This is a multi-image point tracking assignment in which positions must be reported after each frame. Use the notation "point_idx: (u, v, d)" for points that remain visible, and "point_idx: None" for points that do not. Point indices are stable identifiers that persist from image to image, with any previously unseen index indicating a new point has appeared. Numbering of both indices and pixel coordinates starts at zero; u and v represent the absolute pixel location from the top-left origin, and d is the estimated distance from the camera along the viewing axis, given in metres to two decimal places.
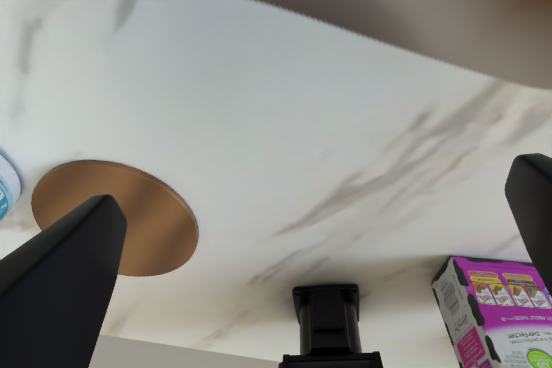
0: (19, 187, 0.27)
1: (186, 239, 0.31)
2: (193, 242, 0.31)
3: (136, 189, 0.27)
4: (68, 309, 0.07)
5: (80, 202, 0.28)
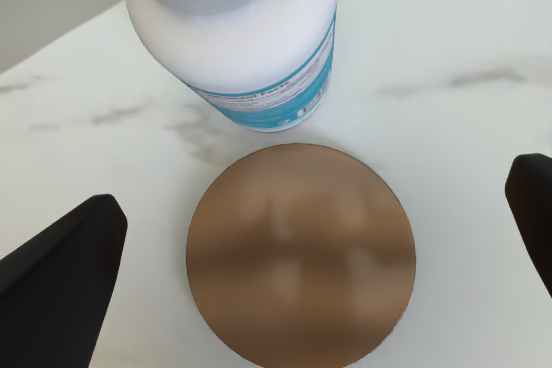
0: (289, 127, 0.21)
1: (343, 350, 0.21)
2: (344, 361, 0.20)
3: (386, 248, 0.20)
4: (68, 309, 0.07)
5: (311, 199, 0.21)
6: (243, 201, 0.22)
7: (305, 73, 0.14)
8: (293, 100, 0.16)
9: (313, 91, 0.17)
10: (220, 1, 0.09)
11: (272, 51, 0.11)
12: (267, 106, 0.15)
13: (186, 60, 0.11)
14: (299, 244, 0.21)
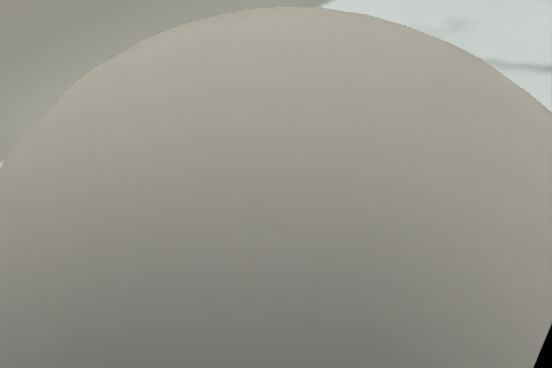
0: None
1: None
2: None
3: None
4: None
5: None
6: None
7: None
8: None
9: None
10: None
11: None
12: None
13: None
14: None
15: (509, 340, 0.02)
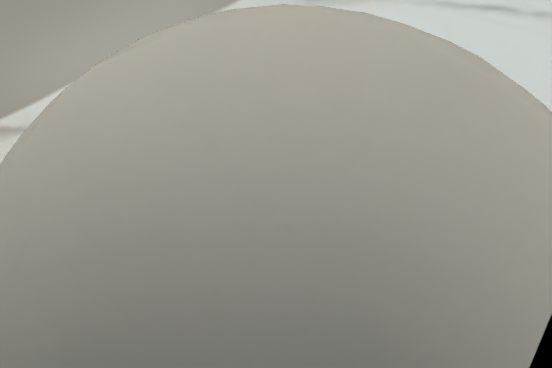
0: None
1: None
2: None
3: None
4: None
5: None
6: None
7: None
8: None
9: None
10: None
11: None
12: None
13: None
14: None
15: (509, 340, 0.02)
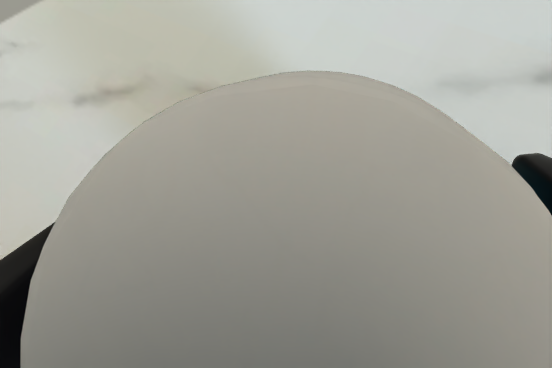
0: None
1: None
2: None
3: None
4: None
5: None
6: None
7: None
8: None
9: None
10: None
11: None
12: None
13: None
14: None
15: (478, 346, 0.03)
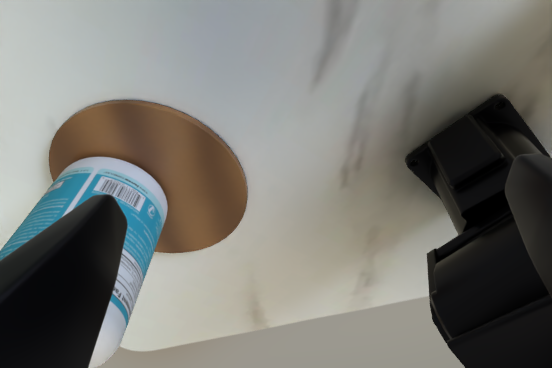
0: (159, 188, 0.24)
1: (221, 161, 0.23)
2: (230, 161, 0.23)
3: (121, 127, 0.22)
4: (68, 309, 0.07)
5: None
6: None
7: None
8: (125, 242, 0.19)
9: None
10: None
11: None
12: (133, 266, 0.20)
13: (105, 356, 0.18)
14: None
15: None
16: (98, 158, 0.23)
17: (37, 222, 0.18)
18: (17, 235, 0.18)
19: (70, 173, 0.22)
